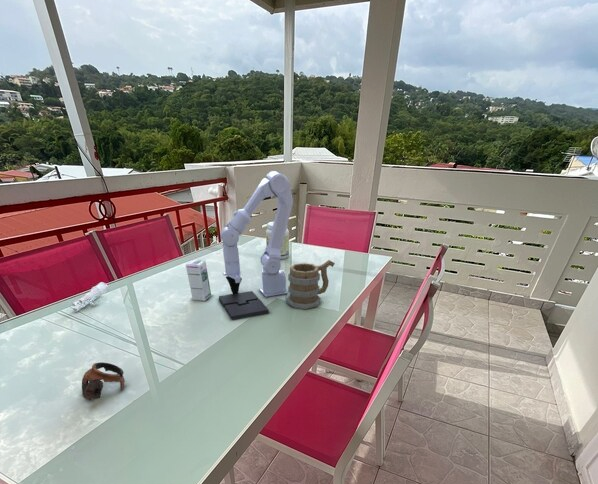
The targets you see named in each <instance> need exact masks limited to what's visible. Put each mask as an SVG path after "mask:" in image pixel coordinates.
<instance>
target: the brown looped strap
mask: <svg viewBox="0 0 598 484" xmlns="http://www.w3.org/2000/svg"><path fill="white" fill-rule="evenodd" d="M102 368H103V369H104V370H105V372H103V371H101V370H100V369H102ZM106 372H107V373H106ZM108 372H112V373H108ZM114 373H115V374H114ZM124 374H125V373H124V370H123V369H122V368H121V367H120V366H117V365H115V364H112V363H110V362H105V361H102V362H99V361H98V362H94V363H93V364H92V365H91V368H89V369H87V370H86V372H84V374H83V375H82V379H81V391H82V392H81V394H82V396H83V398H85V399H86V400H88V401H90V400H92V399H93V400H98V399H101V398H102V391H103V388H104V384H103V382H104V383H119V384H120V385H119V388H120V390H124V388H125V383H126V380H125V377H124Z"/></svg>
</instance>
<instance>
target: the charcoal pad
mask: <svg viewBox="0 0 598 484" xmlns="http://www.w3.org/2000/svg"><path fill="white" fill-rule="evenodd" d="M224 310H225V311H226V313H227V315H228V316H229V318H230V319H231V320H232V321H235V320H239V319H245V318H250V317H256V316H261V315H266V314H267V315H268V314H269V309H268V307H267V306H266V305H265V304H264V302H263V301H262V300H261V299H259V298H258V300H253V301H248V303H247V305H241V306H238V305H237V303H236V304H230V305H225V307H224Z"/></svg>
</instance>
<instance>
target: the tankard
mask: <svg viewBox="0 0 598 484" xmlns="http://www.w3.org/2000/svg"><path fill="white" fill-rule="evenodd" d="M334 266H335V262H334V261H332V260H330V259H328V260H327V261H325V262H324V263H322V264H320V265H315V264H313V263H307V262H301V263H295V264H293V265H292V266H291V267H289V273H288V275H287V280H288V281H289V286H288V287H287V291H288V293H289V295H288V296H287V298H286V303H287V304H288V305H289V306H290V307H292V308H293V309H294V308H296V309H300V310H308V309H312V308H317V307H318V306H319V304H320V303H321V301H322V299H321V297H320V296H319V295H321V294H322V295H323V294H325V293H326V291H327V290H328V287H329V281H330V280H329V278H328V274H327V273H328V272H327V271H328V270H327V269H328V268H329V267H332V268H333V267H334ZM319 272H320V273H319ZM320 279H321V280H322V286H321V287H320V285H319V281H320Z"/></svg>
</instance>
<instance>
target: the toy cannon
mask: <svg viewBox="0 0 598 484" xmlns="http://www.w3.org/2000/svg"><path fill="white" fill-rule="evenodd" d="M109 290H110V288H109V286H108V284H107V283H106V282H103V281H101V282H99V283H97V284H96V285H95V286H92V287H91V289H90V291H89V292H88V293H86V294H83V296H82V297H80V298H79V299H77V300H75V301H74V302H72V303H71V306H72V307H73V309H72V310H73V311H74V312H75V313H78V312H79V311H80V310H81V309H84V308H85V306H88V305H91V306H93V307H94V306H96V304H95V302H94V301H95V300H97V299H98V298H100V297H101V296H102V295H103V294H104V293H108V292H109Z"/></svg>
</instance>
